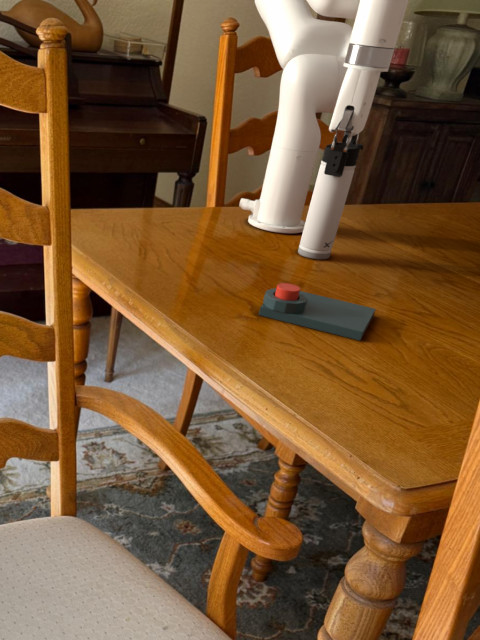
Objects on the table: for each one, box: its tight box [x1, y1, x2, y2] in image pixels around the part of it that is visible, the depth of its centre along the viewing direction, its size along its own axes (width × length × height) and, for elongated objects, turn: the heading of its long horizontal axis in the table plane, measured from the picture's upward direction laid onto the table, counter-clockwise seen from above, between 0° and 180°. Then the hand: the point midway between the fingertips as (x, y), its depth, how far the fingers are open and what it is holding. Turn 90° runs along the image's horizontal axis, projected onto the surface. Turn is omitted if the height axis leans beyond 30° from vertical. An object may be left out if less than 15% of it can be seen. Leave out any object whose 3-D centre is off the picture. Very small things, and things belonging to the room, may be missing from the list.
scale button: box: [275, 282, 301, 301], centre depth 114 cm, size 4×4×2 cm
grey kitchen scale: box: [258, 287, 376, 341], centre depth 115 cm, size 16×12×3 cm
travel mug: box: [297, 143, 364, 261], centre depth 137 cm, size 6×7×20 cm
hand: (337, 171), depth 134 cm, fingers open, 7 cm apart
